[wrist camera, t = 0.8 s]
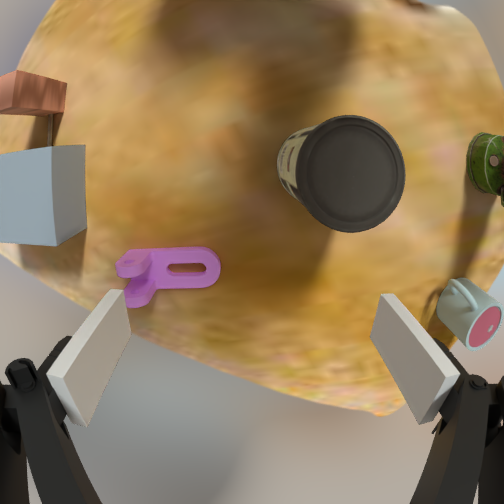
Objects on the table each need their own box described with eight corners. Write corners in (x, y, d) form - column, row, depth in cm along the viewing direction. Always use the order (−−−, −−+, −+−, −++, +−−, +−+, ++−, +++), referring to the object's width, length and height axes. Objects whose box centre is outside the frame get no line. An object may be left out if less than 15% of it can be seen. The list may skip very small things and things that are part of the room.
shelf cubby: (21, 152, 34) (-14, 157, 26) (85, 144, 34) (51, 146, 26) (25, 225, 38) (-7, 241, 30) (87, 227, 38) (56, 246, 30)
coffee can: (359, 194, 38) (412, 218, 25) (287, 212, 39) (310, 245, 25) (343, 120, 35) (394, 108, 21) (267, 135, 35) (282, 126, 22)
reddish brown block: (43, 88, 31) (-8, 79, 19) (68, 82, 31) (18, 69, 20) (40, 207, 37) (-10, 228, 26) (64, 207, 37) (14, 229, 26)
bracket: (135, 284, 42) (119, 307, 35) (129, 249, 40) (110, 267, 33) (222, 282, 42) (218, 307, 35) (219, 245, 40) (215, 264, 34)
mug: (476, 297, 45) (507, 321, 36) (445, 329, 47) (472, 359, 38) (455, 250, 41) (492, 273, 32) (419, 288, 43) (451, 318, 34)
